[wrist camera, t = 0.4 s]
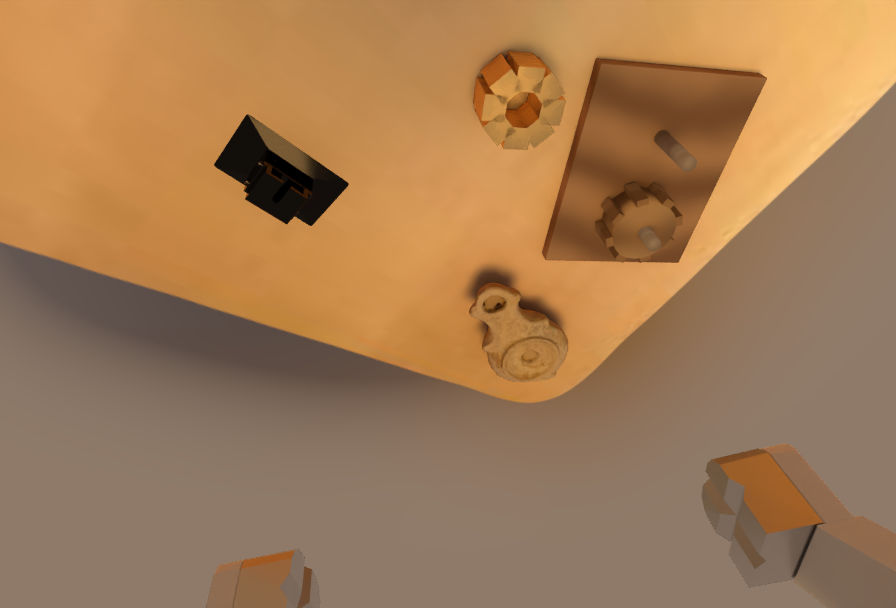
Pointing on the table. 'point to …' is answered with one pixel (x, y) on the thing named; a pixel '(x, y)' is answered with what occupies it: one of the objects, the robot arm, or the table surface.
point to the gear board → (646, 159)
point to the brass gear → (531, 116)
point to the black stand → (278, 174)
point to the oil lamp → (518, 336)
